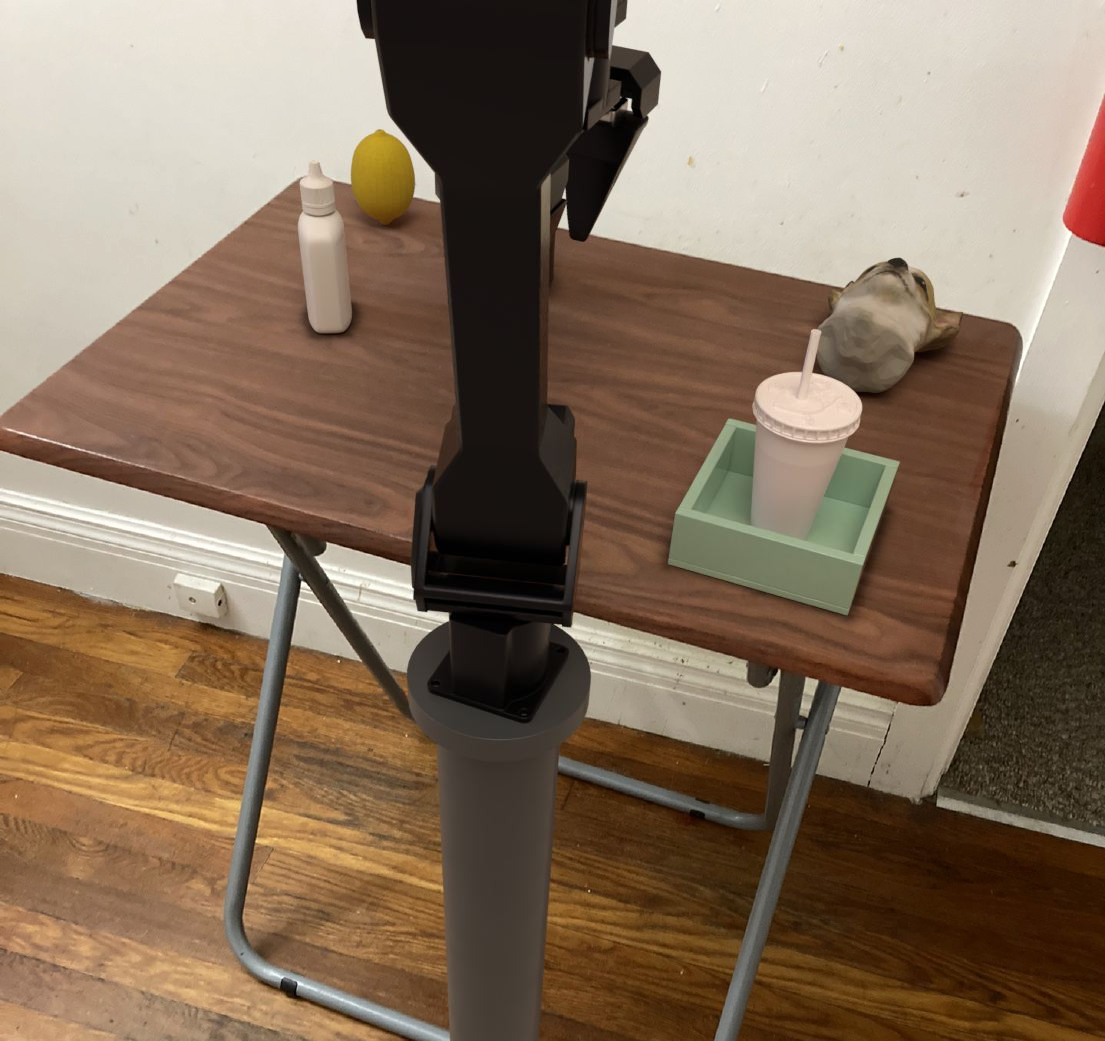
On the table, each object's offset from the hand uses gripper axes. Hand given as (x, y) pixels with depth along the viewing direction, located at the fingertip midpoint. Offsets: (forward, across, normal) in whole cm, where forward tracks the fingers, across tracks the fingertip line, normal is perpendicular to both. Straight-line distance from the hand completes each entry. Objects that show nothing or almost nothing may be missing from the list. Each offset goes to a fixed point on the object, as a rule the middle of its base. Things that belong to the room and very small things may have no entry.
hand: (549, 270), depth 72 cm
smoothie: (+13, +2, +18) cm, 22 cm away
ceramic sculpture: (+14, -23, +18) cm, 32 cm away
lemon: (+14, -26, -27) cm, 40 cm away
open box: (+13, +2, +18) cm, 22 cm away
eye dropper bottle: (+14, -9, -22) cm, 28 cm away
